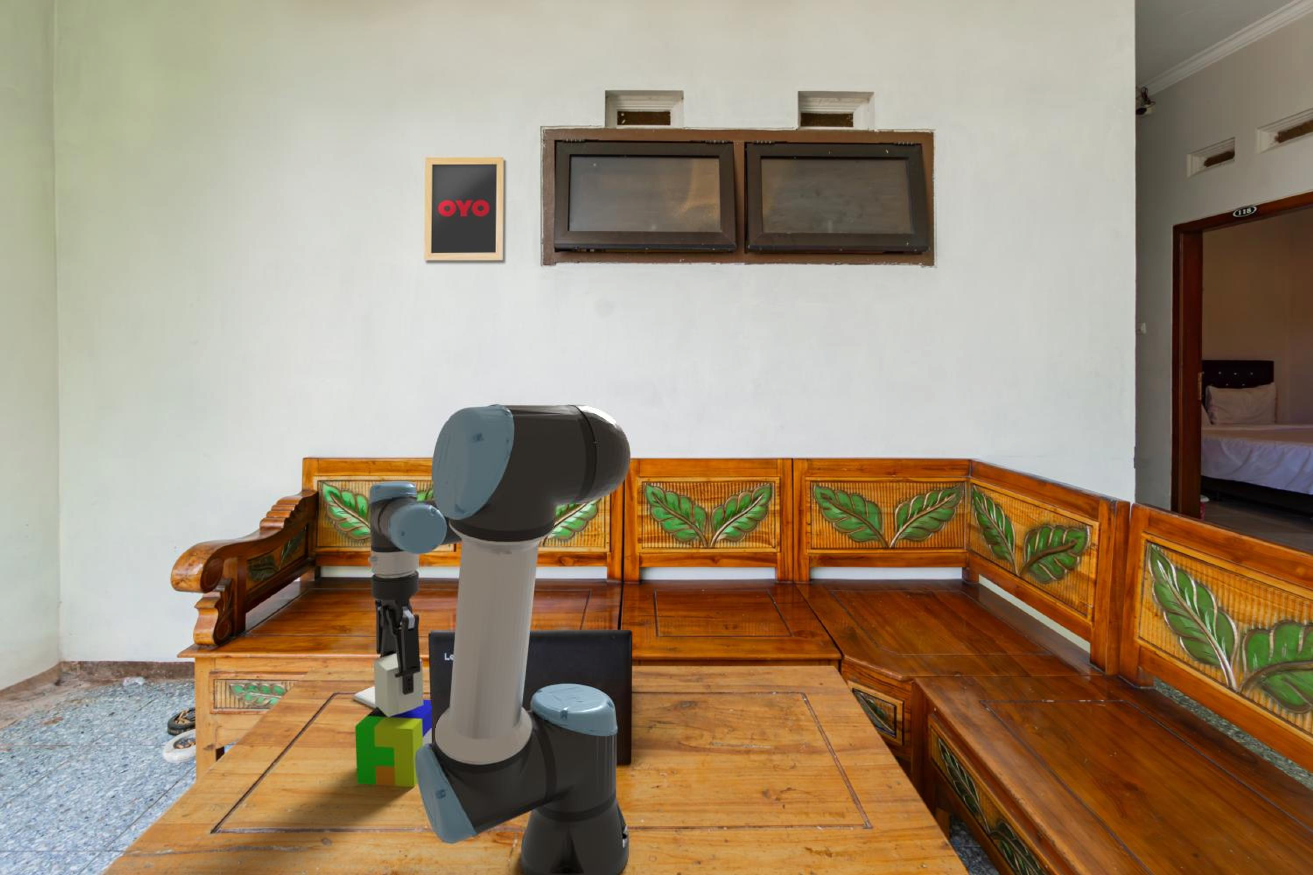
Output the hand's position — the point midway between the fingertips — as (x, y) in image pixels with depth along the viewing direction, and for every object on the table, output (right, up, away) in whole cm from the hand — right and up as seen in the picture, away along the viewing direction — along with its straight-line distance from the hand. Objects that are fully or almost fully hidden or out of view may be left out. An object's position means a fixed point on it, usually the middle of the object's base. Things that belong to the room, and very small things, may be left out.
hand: (398, 702), depth 110 cm
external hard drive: (-13, -11, +26) cm, 31 cm away
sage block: (0, 0, 0) cm, 0 cm away
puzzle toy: (0, -12, +1) cm, 12 cm away
